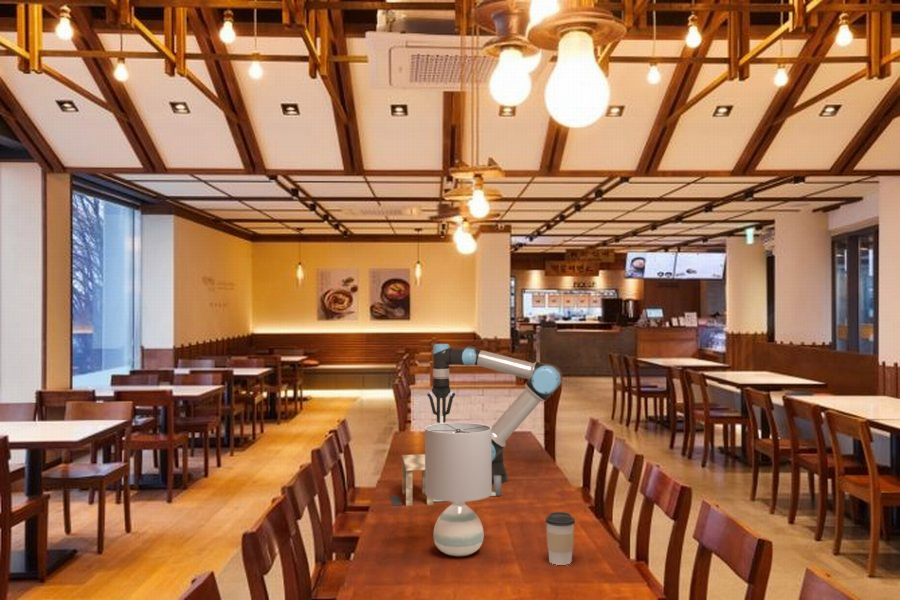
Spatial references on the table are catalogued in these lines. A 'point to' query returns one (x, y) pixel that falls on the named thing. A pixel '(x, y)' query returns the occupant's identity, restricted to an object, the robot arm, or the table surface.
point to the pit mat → (396, 500)
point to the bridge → (407, 466)
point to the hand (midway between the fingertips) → (441, 429)
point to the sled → (496, 487)
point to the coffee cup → (560, 537)
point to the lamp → (458, 482)
